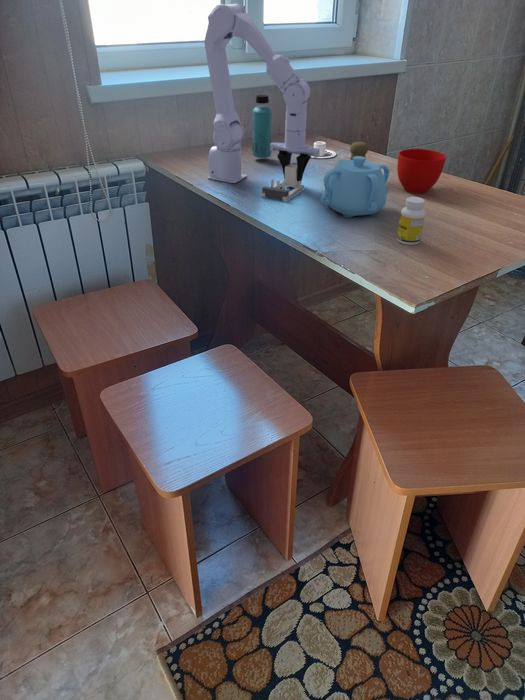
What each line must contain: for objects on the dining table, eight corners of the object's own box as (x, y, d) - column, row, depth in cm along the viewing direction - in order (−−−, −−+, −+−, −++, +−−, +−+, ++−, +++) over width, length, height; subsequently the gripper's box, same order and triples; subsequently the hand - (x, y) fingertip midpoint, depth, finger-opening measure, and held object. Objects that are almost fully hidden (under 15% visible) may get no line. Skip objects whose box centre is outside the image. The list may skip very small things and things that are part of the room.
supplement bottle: (393, 236, 121) (400, 195, 116) (415, 236, 122) (423, 195, 116) (400, 245, 117) (407, 203, 111) (423, 245, 117) (432, 203, 112)
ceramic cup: (452, 187, 152) (460, 152, 147) (424, 200, 142) (432, 163, 137) (413, 177, 160) (419, 144, 154) (384, 189, 149) (390, 154, 144)
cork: (364, 184, 154) (369, 145, 147) (344, 182, 155) (348, 144, 148) (365, 178, 158) (370, 140, 152) (346, 176, 159) (350, 139, 153)
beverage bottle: (274, 159, 174) (276, 94, 162) (264, 164, 169) (265, 97, 158) (258, 156, 177) (259, 92, 165) (248, 160, 172) (248, 95, 161)
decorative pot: (311, 213, 133) (315, 159, 125) (336, 196, 144) (341, 145, 136) (371, 226, 126) (379, 170, 119) (392, 206, 138) (400, 154, 130)
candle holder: (303, 150, 186) (303, 137, 183) (336, 151, 185) (337, 139, 182) (301, 159, 176) (301, 146, 174) (336, 161, 175) (337, 147, 173)
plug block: (284, 185, 149) (285, 165, 146) (290, 181, 152) (291, 161, 149) (295, 187, 148) (296, 167, 145) (301, 183, 151) (302, 163, 148)
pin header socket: (261, 196, 143) (261, 180, 140) (279, 185, 151) (280, 169, 149) (286, 201, 140) (287, 185, 137) (304, 189, 149) (305, 173, 146)
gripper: (325, 129, 141) (321, 179, 149) (278, 124, 147) (276, 172, 155) (315, 135, 136) (312, 186, 144) (267, 128, 142) (266, 178, 150)
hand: (293, 179), depth 149 cm, fingers closed on plug block, 3 cm apart
